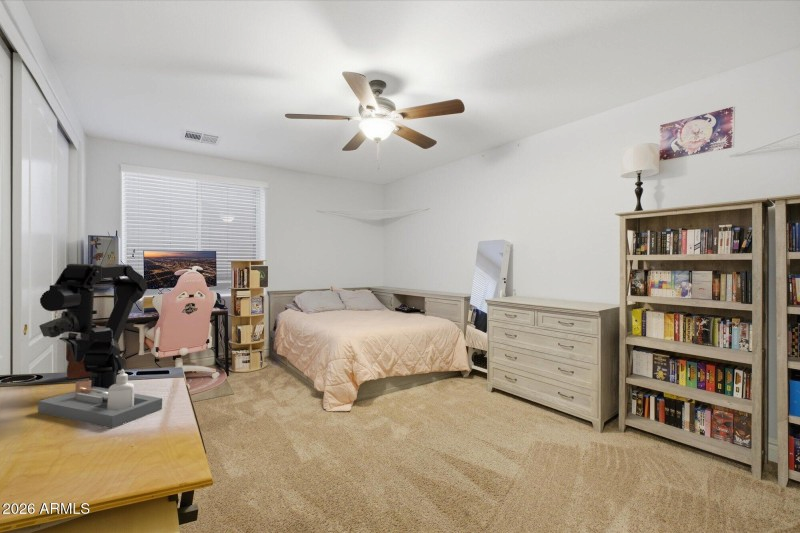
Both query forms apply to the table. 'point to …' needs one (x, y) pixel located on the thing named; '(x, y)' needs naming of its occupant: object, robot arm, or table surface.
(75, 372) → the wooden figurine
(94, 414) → the dock block
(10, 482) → the table surface
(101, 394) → the lock pin
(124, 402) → the eye dropper bottle
